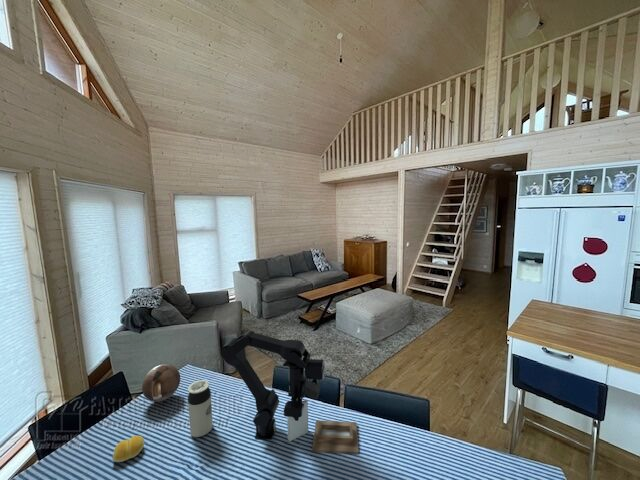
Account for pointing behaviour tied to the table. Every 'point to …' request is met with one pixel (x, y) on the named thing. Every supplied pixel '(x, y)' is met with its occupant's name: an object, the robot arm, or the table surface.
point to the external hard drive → (298, 424)
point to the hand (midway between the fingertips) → (297, 415)
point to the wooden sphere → (161, 382)
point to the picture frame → (335, 437)
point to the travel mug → (200, 408)
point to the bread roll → (128, 448)
